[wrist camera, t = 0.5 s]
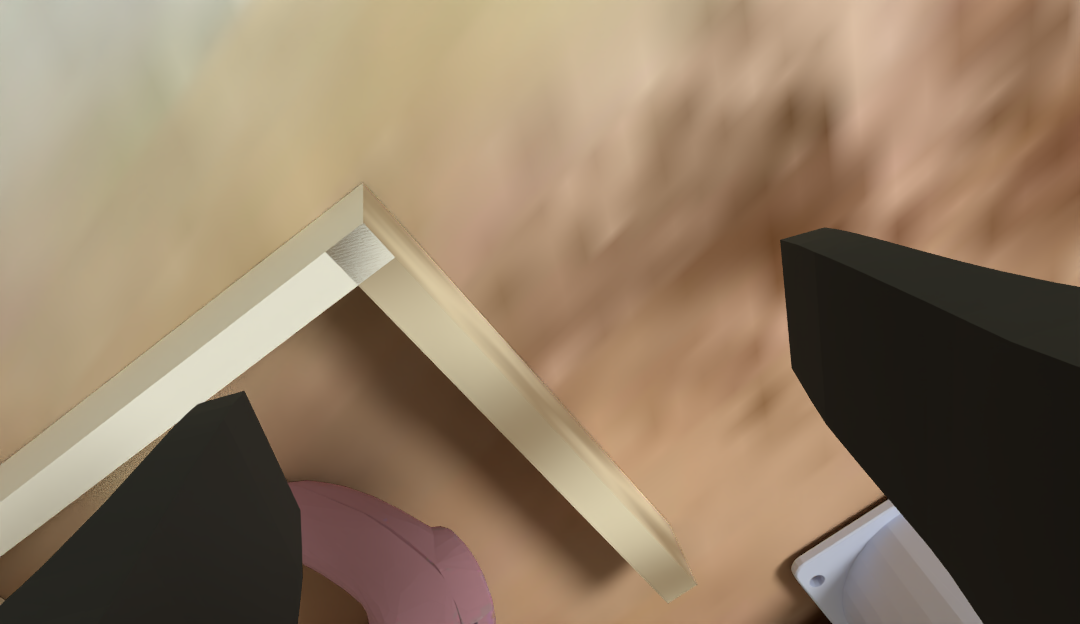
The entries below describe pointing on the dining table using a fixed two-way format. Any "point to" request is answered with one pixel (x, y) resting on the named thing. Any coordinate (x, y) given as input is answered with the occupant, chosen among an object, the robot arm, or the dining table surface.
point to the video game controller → (390, 559)
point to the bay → (283, 309)
